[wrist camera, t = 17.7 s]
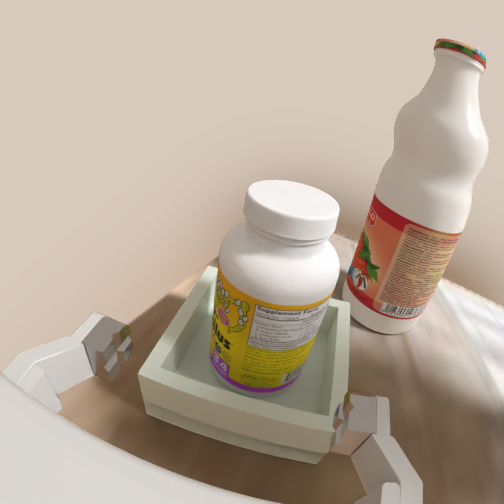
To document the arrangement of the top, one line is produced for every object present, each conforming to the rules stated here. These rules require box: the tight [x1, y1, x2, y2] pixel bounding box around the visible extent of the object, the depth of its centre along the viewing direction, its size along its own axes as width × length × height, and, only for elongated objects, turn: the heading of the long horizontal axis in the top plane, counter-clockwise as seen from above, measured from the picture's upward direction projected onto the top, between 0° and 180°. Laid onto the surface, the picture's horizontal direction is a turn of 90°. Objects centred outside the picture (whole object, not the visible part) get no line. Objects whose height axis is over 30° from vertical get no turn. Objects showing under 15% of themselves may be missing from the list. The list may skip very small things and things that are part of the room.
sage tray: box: [138, 266, 350, 464], centre depth 22 cm, size 12×12×5 cm
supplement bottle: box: [210, 180, 340, 397], centre depth 19 cm, size 7×7×13 cm
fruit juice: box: [342, 39, 489, 334], centre depth 26 cm, size 9×9×28 cm
